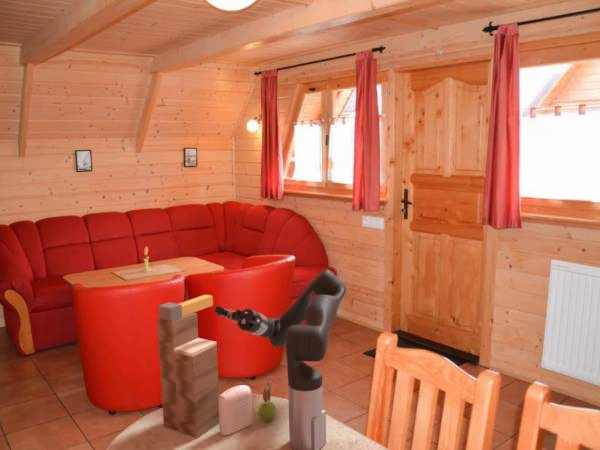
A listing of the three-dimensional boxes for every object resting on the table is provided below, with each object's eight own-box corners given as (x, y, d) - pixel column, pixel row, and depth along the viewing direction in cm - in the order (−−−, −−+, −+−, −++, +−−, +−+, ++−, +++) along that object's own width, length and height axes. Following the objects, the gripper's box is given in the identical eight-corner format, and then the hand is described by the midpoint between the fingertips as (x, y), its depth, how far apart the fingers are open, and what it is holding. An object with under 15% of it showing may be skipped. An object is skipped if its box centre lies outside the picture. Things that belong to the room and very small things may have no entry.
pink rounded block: (245, 419, 162) (244, 380, 161) (254, 424, 159) (253, 384, 158) (217, 432, 155) (215, 391, 154) (226, 437, 152) (224, 396, 150)
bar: (215, 305, 167) (214, 293, 166) (171, 322, 152) (171, 308, 151) (203, 303, 169) (202, 291, 169) (159, 319, 154) (158, 305, 154)
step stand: (220, 422, 160) (215, 316, 156) (196, 438, 152) (191, 326, 147) (187, 412, 167) (182, 310, 163) (163, 426, 159) (157, 319, 154)
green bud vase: (279, 414, 165) (278, 376, 163) (274, 424, 159) (273, 386, 157) (261, 413, 166) (260, 375, 164) (256, 423, 160) (255, 385, 158)
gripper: (239, 308, 193) (212, 296, 180) (272, 314, 186) (246, 302, 173) (234, 329, 191) (206, 318, 178) (267, 336, 184) (240, 325, 171)
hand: (226, 310), depth 175 cm, fingers open, 8 cm apart
